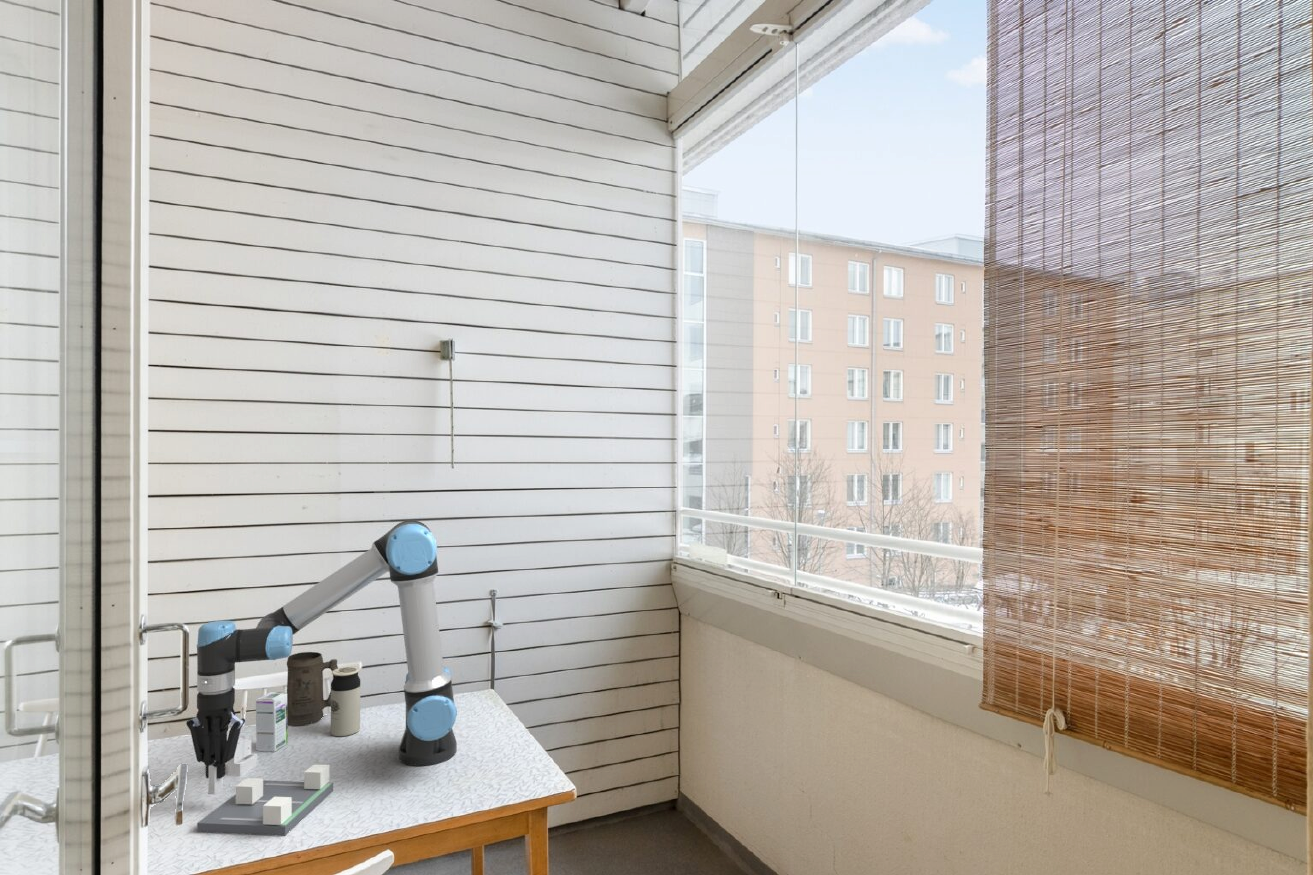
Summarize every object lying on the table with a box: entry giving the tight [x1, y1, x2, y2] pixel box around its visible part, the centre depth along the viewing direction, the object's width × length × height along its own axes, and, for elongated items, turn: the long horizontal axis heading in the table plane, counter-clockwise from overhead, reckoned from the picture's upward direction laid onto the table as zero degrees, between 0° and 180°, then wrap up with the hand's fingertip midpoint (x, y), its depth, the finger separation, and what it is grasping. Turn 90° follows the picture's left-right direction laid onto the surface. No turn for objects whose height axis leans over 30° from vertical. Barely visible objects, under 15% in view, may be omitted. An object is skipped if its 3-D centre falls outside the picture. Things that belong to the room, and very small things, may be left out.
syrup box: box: [255, 691, 289, 753], centre depth 200 cm, size 6×6×14 cm
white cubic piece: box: [303, 764, 330, 789], centre depth 173 cm, size 4×4×4 cm
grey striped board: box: [196, 779, 334, 837], centre depth 166 cm, size 20×20×2 cm
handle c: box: [263, 797, 292, 825], centre depth 157 cm, size 4×4×4 cm
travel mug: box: [330, 666, 361, 737], centre depth 211 cm, size 8×8×18 cm
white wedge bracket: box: [227, 736, 258, 777], centre depth 185 cm, size 4×10×9 cm, turn 168°
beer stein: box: [286, 651, 339, 727], centre depth 221 cm, size 15×11×20 cm
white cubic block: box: [235, 777, 264, 804], centre depth 166 cm, size 4×4×4 cm
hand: (215, 791), depth 167 cm, fingers closed
